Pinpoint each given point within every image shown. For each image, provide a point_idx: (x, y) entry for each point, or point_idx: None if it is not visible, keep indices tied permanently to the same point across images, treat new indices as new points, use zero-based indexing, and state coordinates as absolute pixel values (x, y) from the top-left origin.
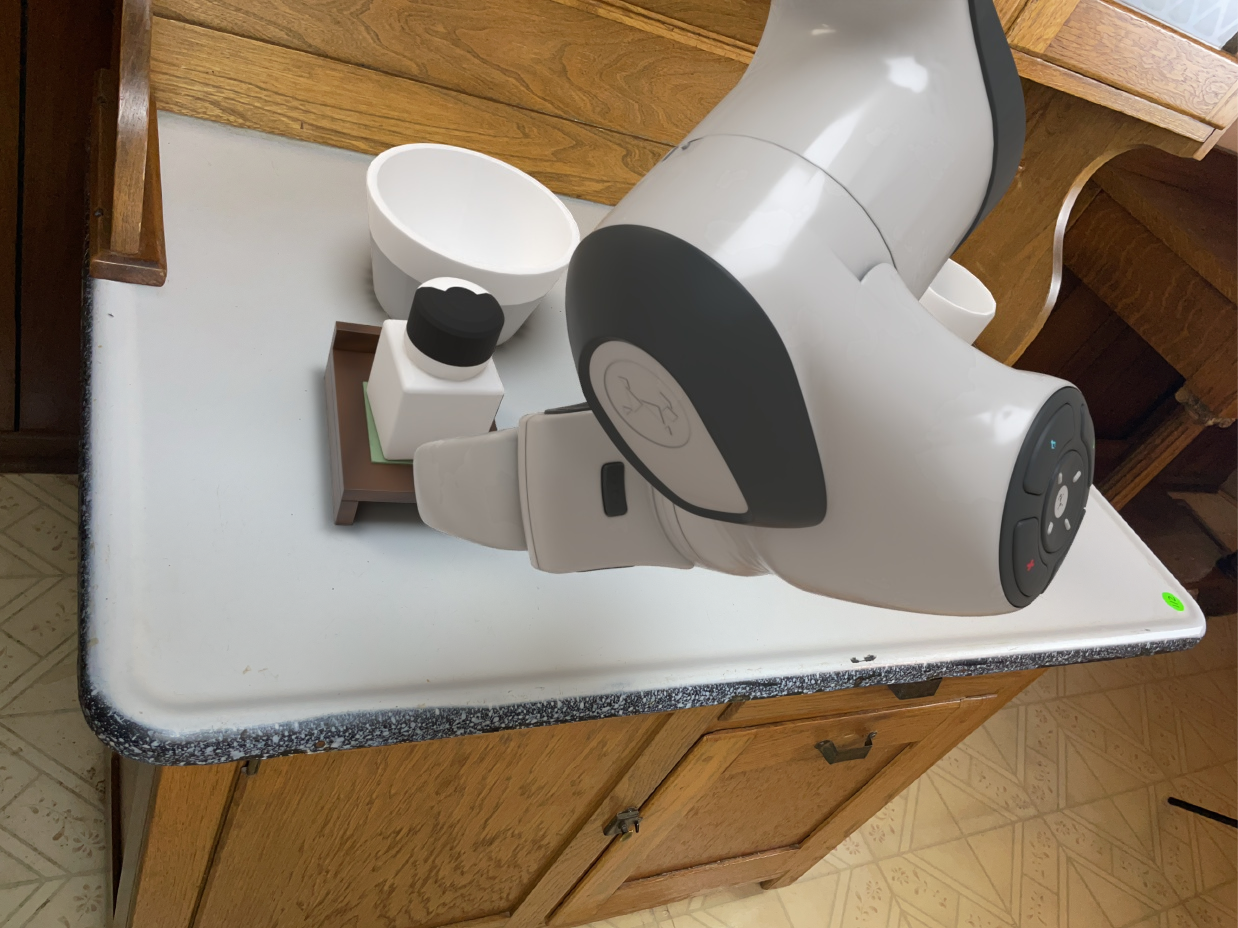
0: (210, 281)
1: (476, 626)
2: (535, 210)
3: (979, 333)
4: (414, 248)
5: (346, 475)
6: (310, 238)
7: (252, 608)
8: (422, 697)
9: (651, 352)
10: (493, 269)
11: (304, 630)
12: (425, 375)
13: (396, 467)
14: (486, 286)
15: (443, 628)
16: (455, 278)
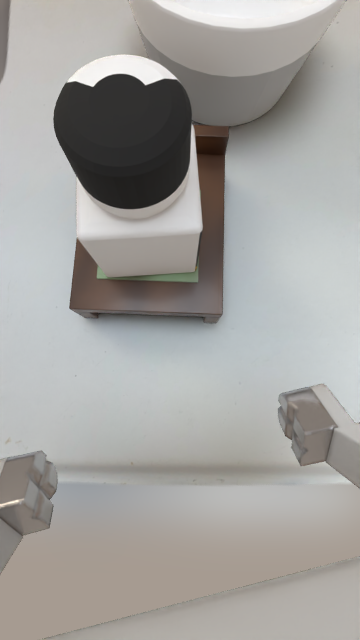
0: (28, 81)
1: (179, 417)
2: None
3: None
4: (149, 9)
5: (73, 293)
6: (111, 19)
7: (18, 389)
8: (124, 477)
9: None
10: (236, 24)
11: (50, 411)
12: (102, 215)
13: (118, 283)
14: (231, 52)
15: (152, 417)
16: (123, 55)
